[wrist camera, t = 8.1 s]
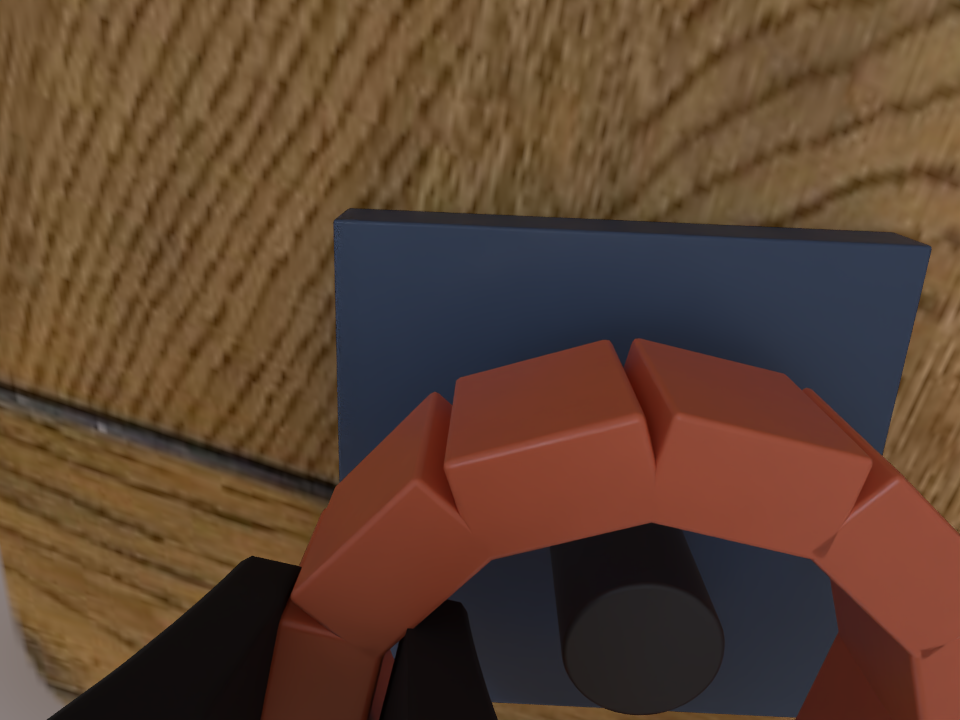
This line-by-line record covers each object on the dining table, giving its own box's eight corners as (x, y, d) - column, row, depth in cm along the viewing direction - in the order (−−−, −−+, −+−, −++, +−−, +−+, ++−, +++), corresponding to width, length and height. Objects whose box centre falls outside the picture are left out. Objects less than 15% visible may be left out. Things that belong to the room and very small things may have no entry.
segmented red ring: (265, 792, 12) (210, 955, 10) (371, 270, 9) (329, 328, 7) (783, 897, 12) (847, 1076, 10) (1033, 432, 10) (1196, 537, 7)
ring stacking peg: (355, 652, 16) (292, 895, 11) (347, 207, 13) (256, 276, 8) (797, 674, 16) (926, 928, 11) (895, 231, 13) (1133, 316, 8)
